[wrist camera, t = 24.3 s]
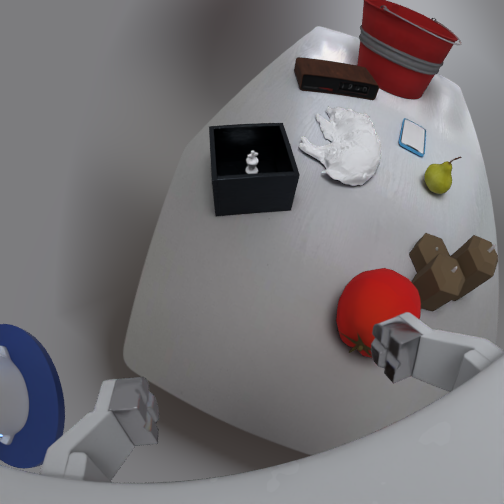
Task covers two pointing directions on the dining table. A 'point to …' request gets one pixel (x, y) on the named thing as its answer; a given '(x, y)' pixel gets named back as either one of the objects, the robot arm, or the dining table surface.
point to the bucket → (402, 47)
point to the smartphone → (413, 137)
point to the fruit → (439, 177)
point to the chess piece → (252, 163)
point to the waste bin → (269, 166)
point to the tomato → (373, 305)
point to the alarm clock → (335, 78)
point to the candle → (450, 269)
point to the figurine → (347, 146)
